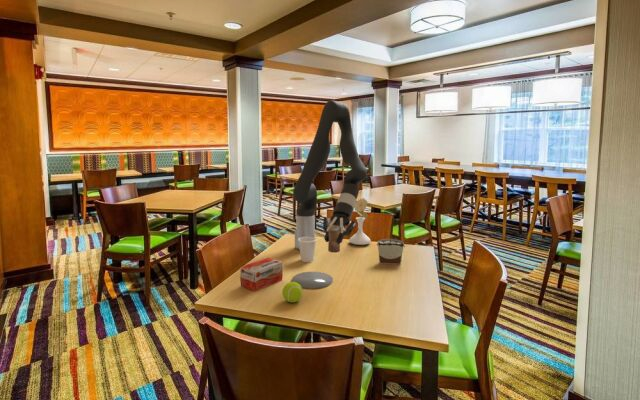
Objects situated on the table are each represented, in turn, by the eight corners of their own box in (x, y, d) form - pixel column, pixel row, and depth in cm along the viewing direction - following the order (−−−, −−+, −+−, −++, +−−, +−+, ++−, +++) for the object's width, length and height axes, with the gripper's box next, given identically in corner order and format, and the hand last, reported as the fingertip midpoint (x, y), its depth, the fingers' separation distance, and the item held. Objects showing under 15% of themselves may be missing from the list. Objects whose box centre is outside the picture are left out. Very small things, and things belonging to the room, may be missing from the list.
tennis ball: (279, 299, 136) (279, 280, 135) (298, 296, 139) (298, 277, 138) (286, 307, 130) (286, 287, 129) (305, 303, 133) (305, 284, 132)
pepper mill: (326, 251, 153) (326, 226, 151) (331, 248, 157) (331, 224, 155) (336, 253, 151) (337, 228, 149) (341, 250, 155) (342, 225, 153)
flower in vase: (345, 241, 209) (346, 195, 204) (365, 239, 212) (366, 194, 208) (355, 248, 196) (356, 199, 192) (375, 246, 200) (377, 198, 195)
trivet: (284, 283, 150) (284, 281, 150) (304, 271, 164) (304, 269, 164) (321, 291, 143) (321, 289, 143) (339, 277, 157) (339, 275, 157)
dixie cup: (314, 263, 173) (314, 242, 172) (296, 262, 175) (296, 240, 173) (318, 257, 181) (318, 237, 180) (300, 256, 183) (300, 236, 181)
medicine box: (254, 292, 142) (253, 271, 141) (240, 286, 147) (239, 266, 146) (283, 280, 154) (283, 261, 153) (269, 275, 159) (268, 257, 158)
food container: (402, 260, 179) (403, 239, 177) (403, 264, 173) (404, 242, 171) (375, 258, 180) (376, 238, 179) (376, 263, 174) (376, 241, 173)
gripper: (326, 199, 160) (312, 234, 152) (359, 203, 154) (346, 239, 146) (331, 209, 166) (318, 244, 158) (363, 213, 160) (351, 249, 151)
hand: (332, 241), depth 152 cm, fingers closed on pepper mill, 4 cm apart
